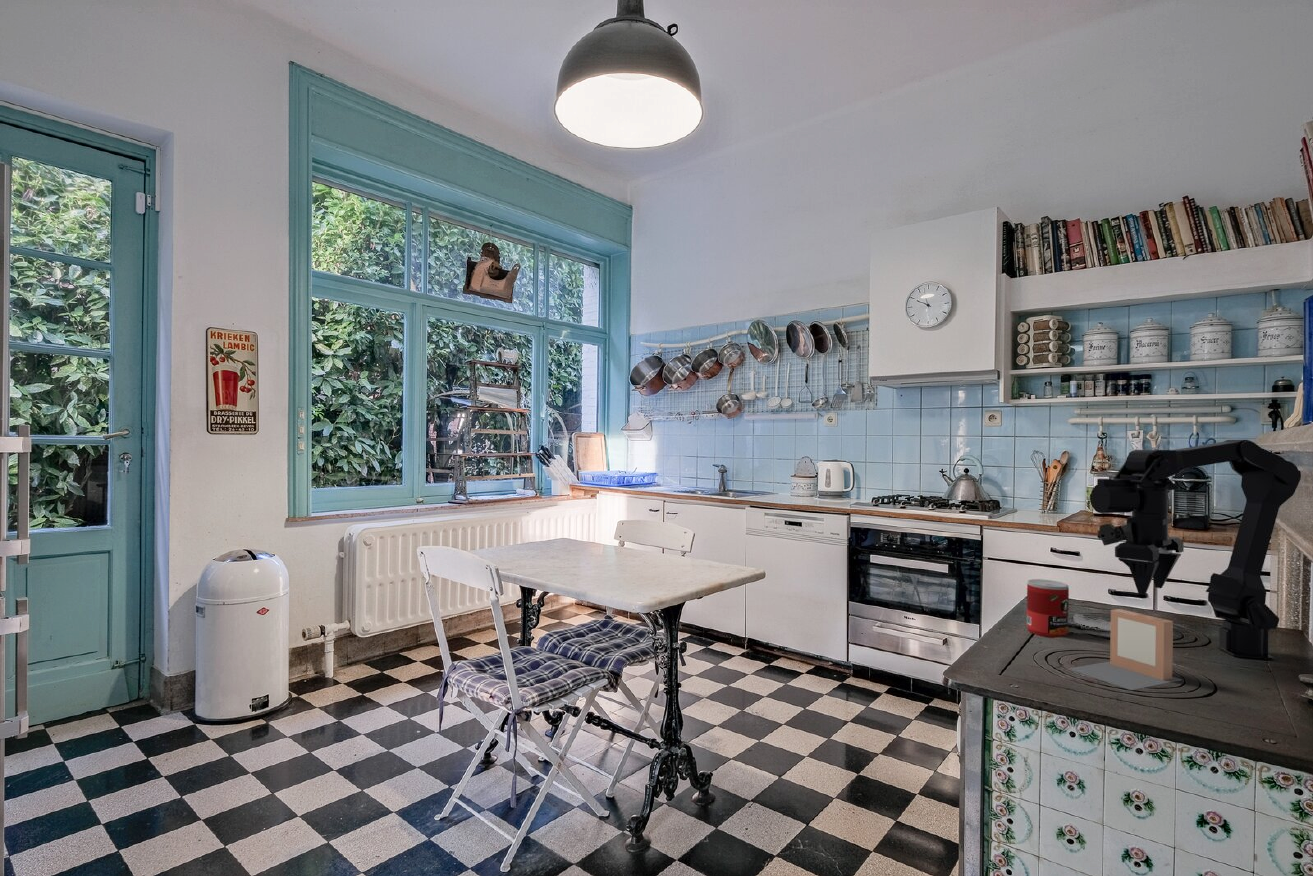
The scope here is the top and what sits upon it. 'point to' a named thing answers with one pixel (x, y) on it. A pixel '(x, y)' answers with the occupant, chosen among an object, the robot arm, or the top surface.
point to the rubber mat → (1120, 676)
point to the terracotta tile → (1141, 643)
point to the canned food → (1047, 608)
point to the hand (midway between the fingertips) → (1150, 591)
